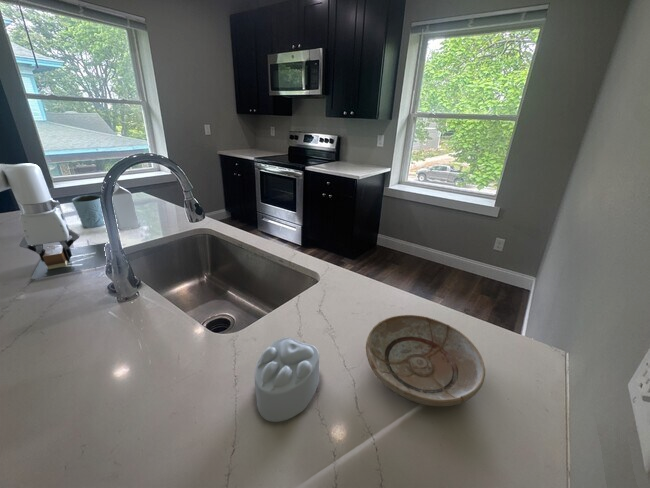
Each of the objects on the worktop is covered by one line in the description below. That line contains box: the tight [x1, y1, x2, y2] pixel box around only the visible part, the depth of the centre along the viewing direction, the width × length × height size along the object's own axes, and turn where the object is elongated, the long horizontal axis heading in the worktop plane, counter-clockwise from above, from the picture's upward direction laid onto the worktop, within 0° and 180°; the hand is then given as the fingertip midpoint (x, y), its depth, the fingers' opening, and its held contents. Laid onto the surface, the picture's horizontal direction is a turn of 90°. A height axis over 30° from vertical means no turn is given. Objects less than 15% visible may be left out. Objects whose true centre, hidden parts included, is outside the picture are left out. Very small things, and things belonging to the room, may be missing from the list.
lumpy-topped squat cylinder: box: [254, 336, 320, 423], centre depth 55 cm, size 10×13×9 cm
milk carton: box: [113, 182, 140, 231], centre depth 124 cm, size 7×7×19 cm
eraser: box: [43, 244, 68, 269], centre depth 95 cm, size 8×4×4 cm, turn 32°
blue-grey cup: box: [71, 194, 106, 229], centre depth 126 cm, size 10×10×12 cm
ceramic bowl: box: [365, 314, 486, 407], centre depth 62 cm, size 23×24×5 cm
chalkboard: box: [30, 242, 107, 281], centre depth 100 cm, size 20×20×1 cm
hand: (58, 260), depth 96 cm, fingers closed on eraser, 4 cm apart
